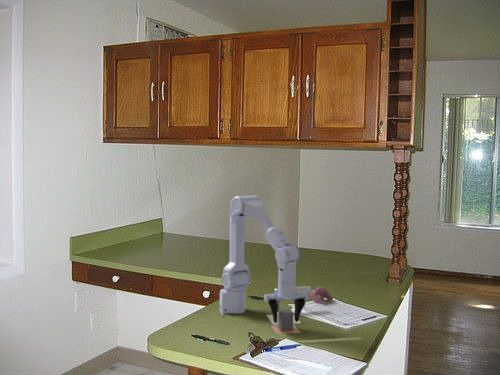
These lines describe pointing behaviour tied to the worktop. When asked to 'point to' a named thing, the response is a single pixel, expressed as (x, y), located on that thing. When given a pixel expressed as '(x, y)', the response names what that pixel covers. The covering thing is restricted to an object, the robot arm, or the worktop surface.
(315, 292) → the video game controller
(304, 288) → the white square rod
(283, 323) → the plug
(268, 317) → the socket
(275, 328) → the tile
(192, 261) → the worktop surface
